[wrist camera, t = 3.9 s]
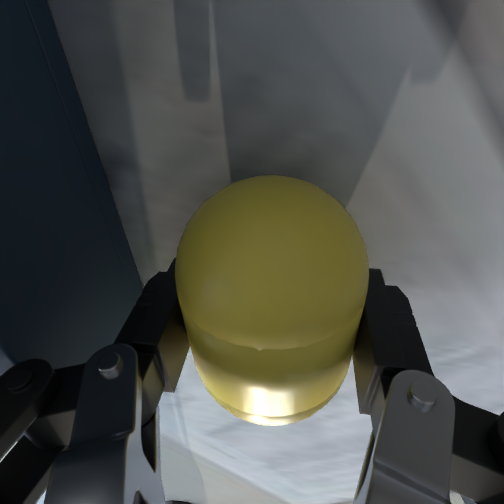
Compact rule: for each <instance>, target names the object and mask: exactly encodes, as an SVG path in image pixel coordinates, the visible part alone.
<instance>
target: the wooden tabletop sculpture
mask: <svg viewBox="0 0 504 504" xmlns="http://www.w3.org/2000/svg"><path fill="white" fill-rule="evenodd" d="M165 504H190V503H187V502H178V501H169V502H165Z"/></svg>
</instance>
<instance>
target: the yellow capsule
mask: <svg viewBox="0 0 504 504" xmlns="http://www.w3.org/2000/svg"><path fill="white" fill-rule="evenodd" d="M175 281H176V290H177V295H178V299H179V303H180V307H181V311H182V315H183V319H184V323H185V327H186V331H187V335H188V339H189V343H190V347H191V350H192V354H193V358H194V362H195V365H196V369H197V371H198V374H199V376H200V378H201V380H202V382H203V384H204V386H205V387H206V389H207V391H208V392H209V393H210V394H211V396H212V397H213V398H214V399H215V400H216V401H217V402H218V403H219V404H220V405H221V406H222V407H223V408H225V409H226V410H228V411H229V412H230V413H232V414H233V415H234V416H237V417H239V418H241V419H243V420H245V421H248V422H251V423H256V424H260V425H272V426H281V425H286V424H291V423H296V422H298V421H301V420H303V419H306V418H308V417H310V416H311V415H313V414H314V413H316V412H317V411H319V410H320V409H321V408H323V407H324V406H325V405H326V404H327V403H328V402H329V401H330V400H331V399H332V398H333V397H334V395H335V394H336V393H337V392H338V390H339V388H340V386H341V384H342V382H343V381H344V378H345V376H346V374H347V371H348V369H349V365H350V361H351V357H352V353H353V349H354V345H355V341H356V337H357V333H358V329H359V324H360V320H361V316H362V312H363V308H364V304H365V300H366V295H367V291H368V281H369V263H368V256H367V251H366V246H365V243H364V241H363V238H362V236H361V233H360V231H359V229H358V227H357V225H356V223H355V221H354V220H353V218H352V217H351V216H350V214H349V213H348V212H347V211H346V210H345V208H344V207H343V206H342V205H341V204H340V202H339V201H337V200H336V199H335V198H334V197H332V196H331V195H330V194H328V193H327V192H325V191H324V190H322V189H321V188H319V187H317V186H316V185H314V184H312V183H309V182H306V181H303V180H300V179H296V178H292V177H287V176H281V175H263V176H256V177H251V178H247V179H244V180H241V181H237V182H234V183H232V184H230V185H228V186H226V187H224V188H223V189H221V190H219V191H218V192H217V193H215V194H214V195H213V196H211V197H210V198H209V199H207V200H206V201H205V202H204V203H203V204H202V205H201V206H200V208H199V209H198V210H197V211H196V213H195V214H194V215H193V217H192V218H191V219H190V221H189V222H188V224H187V226H186V228H185V230H184V233H183V235H182V237H181V240H180V243H179V246H178V249H177V256H176V262H175Z"/></svg>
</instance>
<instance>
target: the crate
mask: <svg viewBox="0 0 504 504" xmlns="http://www.w3.org/2000/svg"><path fill="white" fill-rule="evenodd" d="M142 291H143V287H142V284H141V281H140V278H139V275H138V272H137V269H136V266H135V263H134V260H133V257H132V254H131V251H130V248H129V245H128V242H127V239H126V236H125V233H124V230H123V227H122V224H121V221H120V218H119V215H118V212H117V209H116V206H115V203H114V200H113V197H112V194H111V192H110V189H109V186H108V183H107V180H106V177H105V174H104V171H103V168H102V165H101V162H100V159H99V156H98V153H97V150H96V147H95V144H94V141H93V138H92V135H91V132H90V129H89V126H88V123H87V120H86V117H85V114H84V111H83V108H82V105H81V102H80V99H79V96H78V93H77V90H76V87H75V84H74V82H73V79H72V76H71V73H70V70H69V67H68V64H67V61H66V58H65V55H64V52H63V49H62V46H61V43H60V40H59V37H58V34H57V31H56V28H55V25H54V22H53V19H52V16H51V13H50V10H49V7H48V4H47V1H46V0H0V376H1V375H2V374H3V373H5V372H6V371H7V370H8V369H10V368H11V367H13V366H14V365H16V364H18V363H20V362H23V361H26V360H29V359H43V360H46V361H47V362H48V363H49V364H50V365H51V366H52V368H53V369H59V368H64V367H69V366H74V365H78V364H83V363H86V362H87V361H88V359H89V358H90V357H91V356H92V355H93V354H94V353H95V352H97V351H98V350H100V349H101V348H103V347H105V346H108V345H111V344H113V343H114V341H115V340H116V338H117V336H118V334H119V332H120V331H121V329H122V327H123V325H124V323H125V322H126V320H127V318H128V316H129V314H130V313H131V311H132V309H133V307H134V306H135V305H136V302H137V300H138V298H139V297H140V295H142ZM23 435H24V434H22V435H21V437H20V438H19V439H18V440H17V441H19V440H20V439H21V438H22V437H23Z"/></svg>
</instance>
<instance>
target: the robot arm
mask: <svg viewBox="0 0 504 504" xmlns="http://www.w3.org/2000/svg"><path fill="white" fill-rule="evenodd" d="M175 262H176V258H174V260H173V261H172V263H171V265H170V267H169V269H168V271H167V272H161V271H159V272H158V273H157V274H156V275H155V276H154V277H152V278H151V279H150V280H149V281H148V282H147V284H146V286H145V288H144V289H143V291H142V295H140V297H139V298H138V300H137V302H136V305H135V306H134V307H133V309H132V311H131V313H130V314H129V316H128V318H127V320H126V322H125V323H124V325H123V327H122V329H121V331H120V332H119V334H118V336H117V338H116V340H115V341H114V343H113V344H111V345H108V346H105V347H103V348H101V349H100V350H98V351H97V352H95V353H94V354H93V355H92V356H91V357H90V358H89V359H88V361H87V362H86V363H83V364H78V365H74V366H69V367H64V368H59V369H53V368H52V366H51V365H50V364H49V363H48V362H47V361H46V360H43V359H29V360H26V361H23V362H20V363H18V364H16V365H14V366H13V367H11V368H10V369H8V370H7V371H6V372H5V373H3V374H2V375H1V376H0V460H1V459H2V458H3V456H4V455H5V454H6V453H7V452H8V451H9V449H10V448H11V447H12V446H13V445H14V444H15V442H16V441H17V440H18V439H19V438H20V437H21V435H22V434H24V435H23V437H22V438H21V439H20V440H19V441H18V442H17V444H16V445H15V446H14V447H13V448H12V449H11V451H10V452H9V453H8V454H7V455H6V456H5V458H4V459H3V460H2V461H1V462H0V504H36V503H37V502H38V500H39V499H40V498H41V496H42V495H43V493H44V492H45V491H46V495H45V500H44V504H165V495H164V489H163V485H162V479H161V457H160V415H159V406H158V403H159V400H160V398H161V395H162V392H172V393H174V392H175V389H176V386H177V383H178V380H179V377H180V374H181V371H182V368H183V365H184V362H185V359H186V356H187V353H188V350H189V347H190V343H189V339H188V335H187V331H186V327H185V323H184V319H183V315H182V311H181V307H180V303H179V299H178V295H177V290H176V281H175ZM412 313H413V312H412V309H411V306H410V303H409V300H408V298H407V297H406V296H405V295H404V293H403V292H402V291H401V290H400V289H399V288H398V287H397V286H388V285H385V283H384V279H383V276H382V272H381V270H380V269H373V268H369V281H368V291H367V295H366V300H365V304H364V308H363V312H362V316H361V320H360V324H359V329H358V333H357V337H356V341H355V345H354V349H353V353H352V356H353V364H354V372H355V380H356V388H357V396H358V404H359V412H360V414H368V415H371V421H372V427H373V430H372V432H371V435H370V439H369V443H368V446H367V450H366V454H365V458H364V462H363V466H362V470H361V473H360V477H359V481H358V485H357V489H356V493H355V497H354V500H353V504H451V502H450V496H449V490H452V491H454V492H457V493H459V494H460V495H461V497H462V499H463V501H464V503H465V504H504V412H503V413H502V414H501V415H500V416H499V415H496V414H494V413H491V412H489V411H486V410H483V409H481V408H478V407H475V406H473V405H470V404H468V403H465V402H463V401H461V400H459V399H458V398H456V397H454V396H453V395H451V393H450V391H449V390H448V389H447V387H446V386H445V385H444V384H443V383H442V382H441V381H439V380H438V379H437V378H435V376H434V374H433V372H432V369H431V366H430V363H429V360H428V357H427V354H426V351H425V348H424V345H423V342H422V339H421V336H420V333H419V330H418V327H416V321H415V318H414V315H412ZM46 489H47V490H46Z"/></svg>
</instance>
